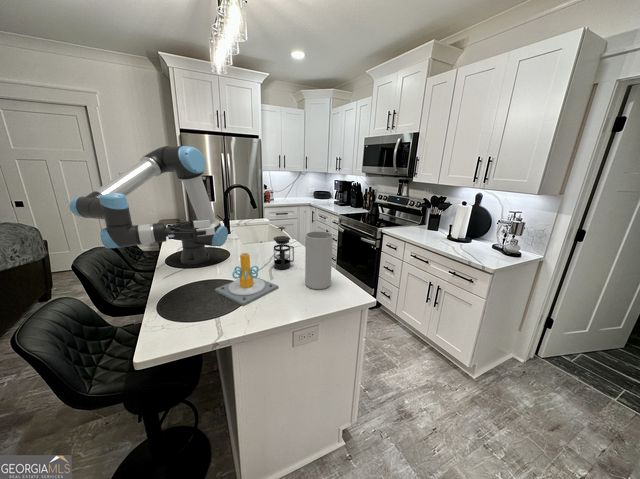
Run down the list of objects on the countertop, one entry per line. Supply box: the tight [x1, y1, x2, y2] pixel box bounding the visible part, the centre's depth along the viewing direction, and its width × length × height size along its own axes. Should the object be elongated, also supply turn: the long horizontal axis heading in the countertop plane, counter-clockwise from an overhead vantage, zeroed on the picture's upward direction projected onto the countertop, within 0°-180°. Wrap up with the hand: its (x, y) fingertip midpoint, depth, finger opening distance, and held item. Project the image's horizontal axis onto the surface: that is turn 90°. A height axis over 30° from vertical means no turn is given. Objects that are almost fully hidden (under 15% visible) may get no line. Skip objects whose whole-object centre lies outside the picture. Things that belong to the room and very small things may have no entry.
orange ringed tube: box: [231, 252, 260, 288], centre depth 115 cm, size 12×10×15 cm
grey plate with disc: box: [214, 276, 279, 307], centre depth 117 cm, size 20×20×2 cm
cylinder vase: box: [304, 230, 334, 290], centre depth 121 cm, size 12×12×25 cm
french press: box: [272, 226, 295, 271], centre depth 141 cm, size 12×9×23 cm
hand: (212, 226), depth 109 cm, fingers open, 13 cm apart
